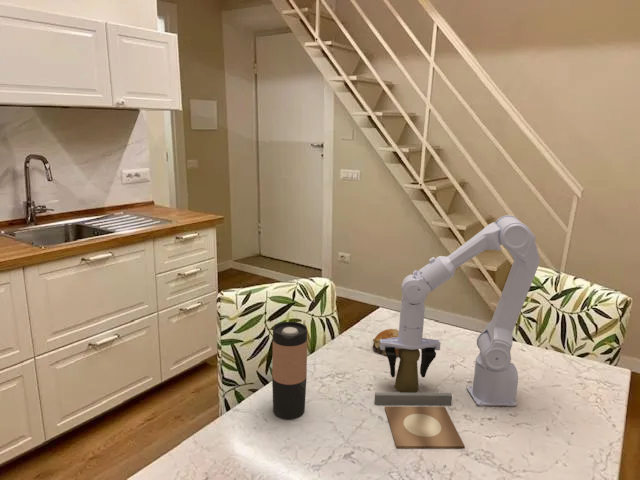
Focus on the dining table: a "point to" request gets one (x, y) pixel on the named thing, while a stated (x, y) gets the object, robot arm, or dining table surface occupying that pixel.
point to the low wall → (412, 398)
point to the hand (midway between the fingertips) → (407, 375)
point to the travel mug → (289, 369)
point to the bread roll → (385, 335)
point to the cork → (407, 371)
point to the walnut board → (422, 427)
